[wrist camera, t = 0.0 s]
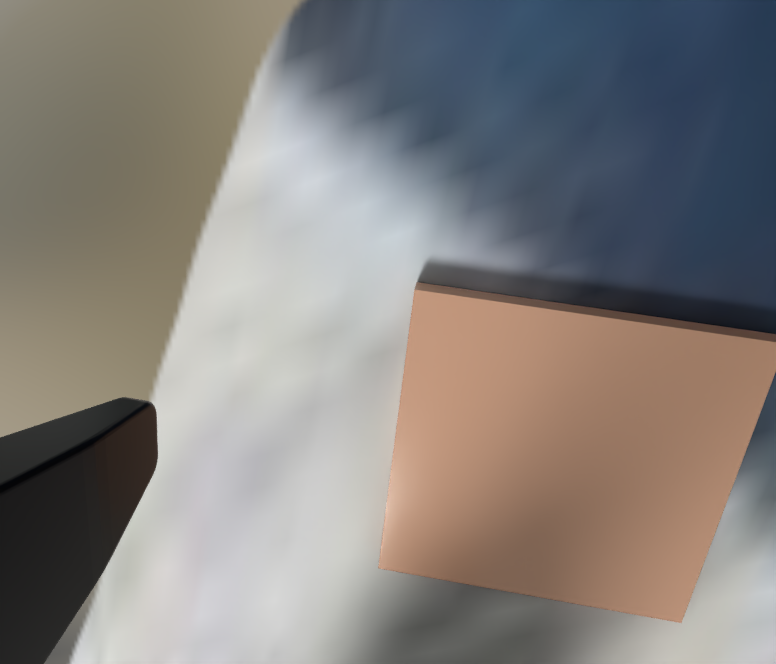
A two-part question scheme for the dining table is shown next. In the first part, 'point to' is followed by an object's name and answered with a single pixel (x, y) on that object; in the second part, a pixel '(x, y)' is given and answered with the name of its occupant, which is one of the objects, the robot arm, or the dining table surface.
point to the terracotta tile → (567, 447)
